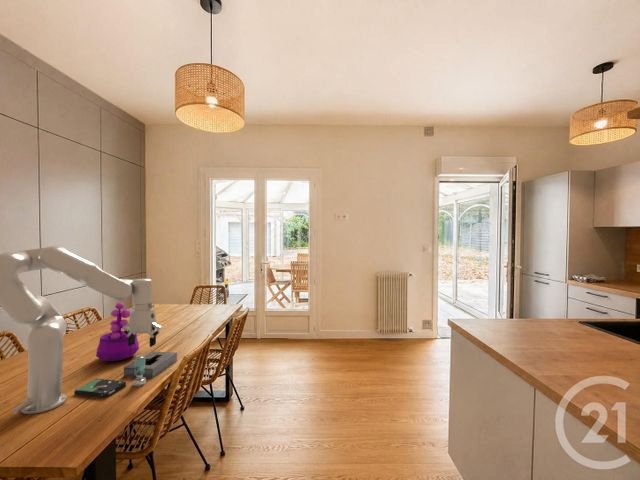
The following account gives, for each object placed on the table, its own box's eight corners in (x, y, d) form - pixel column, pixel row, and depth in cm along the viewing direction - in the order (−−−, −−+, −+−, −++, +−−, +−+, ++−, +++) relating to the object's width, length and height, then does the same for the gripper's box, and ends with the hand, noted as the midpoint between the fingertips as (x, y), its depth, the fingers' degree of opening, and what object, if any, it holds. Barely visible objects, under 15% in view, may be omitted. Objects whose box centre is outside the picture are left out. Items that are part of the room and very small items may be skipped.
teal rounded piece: (140, 387, 124) (141, 359, 124) (129, 386, 124) (130, 359, 124) (148, 381, 129) (149, 355, 129) (137, 381, 129) (138, 354, 129)
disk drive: (126, 387, 125) (96, 384, 127) (126, 381, 125) (96, 377, 127) (105, 400, 114) (73, 396, 116) (105, 393, 114) (73, 389, 116)
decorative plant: (134, 349, 167) (136, 297, 167) (142, 358, 153) (144, 302, 154) (93, 357, 153) (95, 301, 154) (98, 369, 140) (100, 307, 141)
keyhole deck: (152, 378, 132) (152, 368, 133) (123, 376, 133) (123, 367, 133) (176, 360, 152) (177, 352, 152) (151, 359, 153) (151, 351, 153)
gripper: (166, 305, 130) (165, 342, 130) (129, 304, 131) (129, 341, 131) (155, 309, 123) (155, 349, 123) (117, 308, 124) (116, 348, 124)
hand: (142, 345), depth 127 cm, fingers open, 9 cm apart
